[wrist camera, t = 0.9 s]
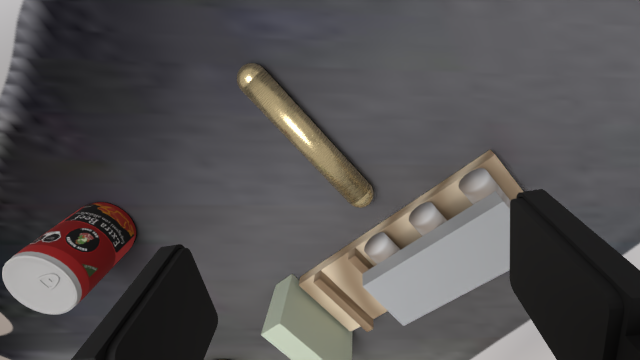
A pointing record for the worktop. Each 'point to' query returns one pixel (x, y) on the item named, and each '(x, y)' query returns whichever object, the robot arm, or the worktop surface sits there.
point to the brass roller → (304, 134)
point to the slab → (444, 262)
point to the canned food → (69, 258)
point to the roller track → (400, 239)
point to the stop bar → (304, 326)
